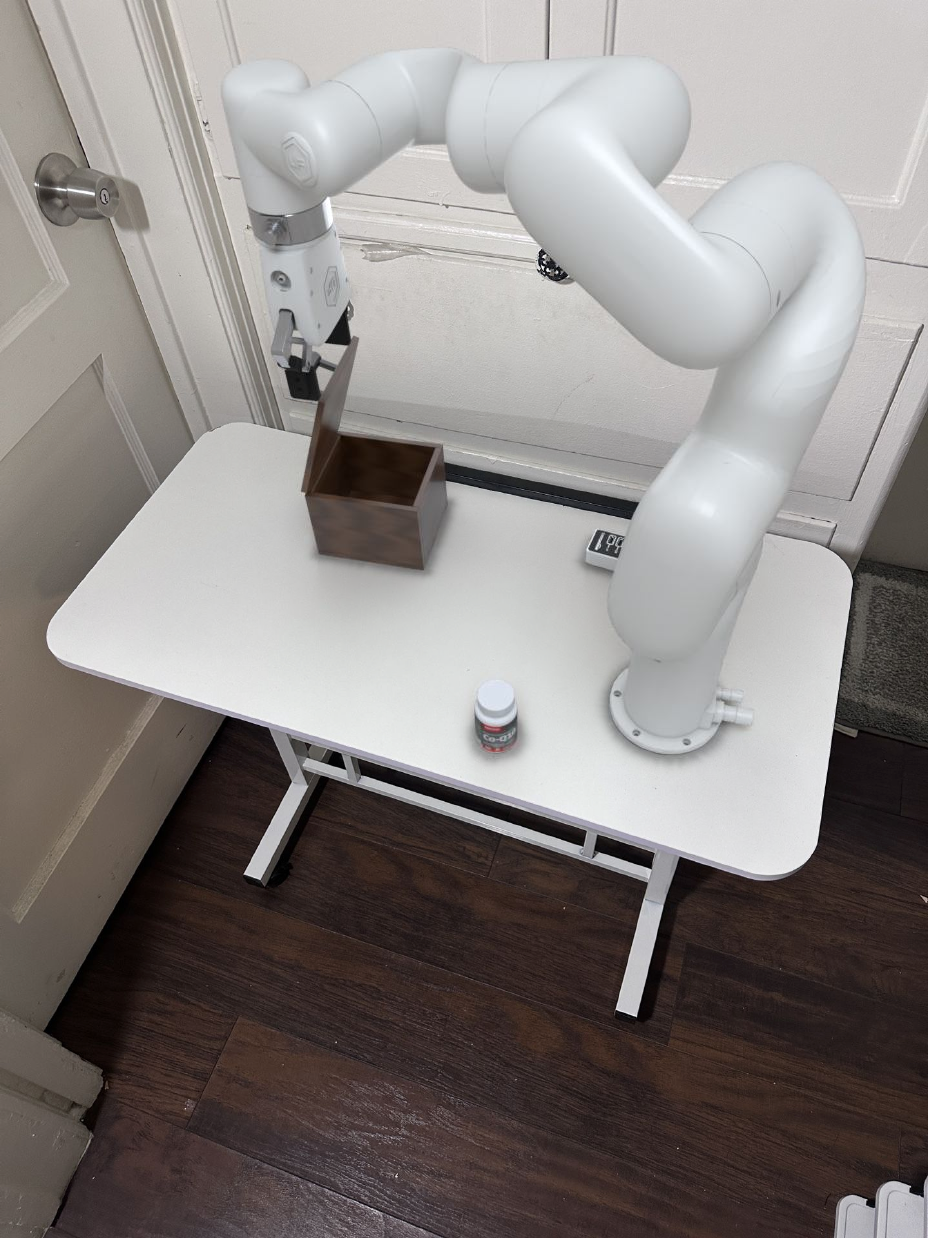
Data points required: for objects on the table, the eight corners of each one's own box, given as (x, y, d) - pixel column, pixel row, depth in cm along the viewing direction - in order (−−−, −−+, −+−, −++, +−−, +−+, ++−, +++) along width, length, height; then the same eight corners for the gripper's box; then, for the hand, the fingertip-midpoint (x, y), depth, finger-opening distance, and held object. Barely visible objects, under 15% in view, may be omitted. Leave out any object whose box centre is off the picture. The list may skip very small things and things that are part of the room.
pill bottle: (482, 759, 102) (480, 718, 96) (470, 724, 105) (467, 682, 99) (523, 748, 103) (523, 707, 96) (510, 714, 106) (510, 672, 99)
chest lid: (359, 337, 109) (319, 321, 109) (324, 403, 102) (282, 387, 101) (339, 428, 121) (303, 414, 121) (306, 494, 114) (268, 479, 114)
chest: (447, 504, 128) (443, 444, 119) (423, 570, 120) (417, 511, 112) (348, 489, 130) (336, 430, 122) (318, 554, 123) (304, 495, 114)
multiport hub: (693, 593, 116) (696, 581, 114) (584, 562, 120) (585, 550, 118) (702, 569, 118) (705, 557, 116) (595, 539, 122) (596, 527, 120)
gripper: (295, 268, 79) (328, 425, 92) (359, 173, 89) (380, 326, 103) (215, 260, 80) (259, 416, 94) (287, 167, 91) (317, 320, 104)
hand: (322, 369), depth 98 cm, fingers open, 9 cm apart
